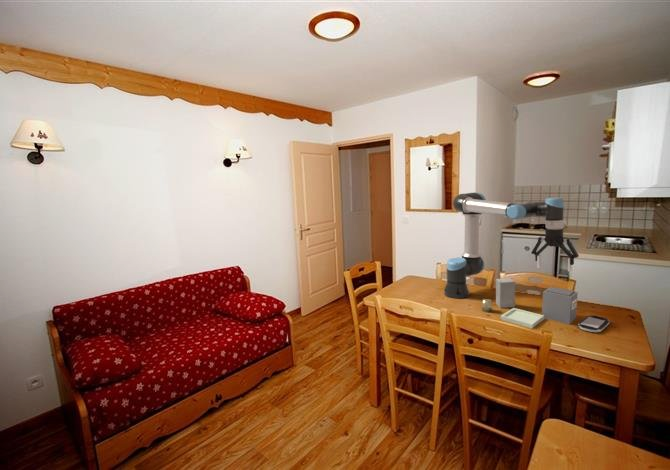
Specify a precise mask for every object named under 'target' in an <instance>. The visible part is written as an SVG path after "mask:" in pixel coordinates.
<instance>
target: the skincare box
mask: <svg viewBox="0 0 670 470" xmlns="http://www.w3.org/2000/svg"><path fill="white" fill-rule="evenodd" d="M515 297H516V281H515V280H513V279H512V278H510V277H509V278H508V277H507V278H496V279H495V305H497V306H498V307H499V308H500V309H504V308H515V307H516V306H515V305H516V304H515V303H516V299H515Z"/></svg>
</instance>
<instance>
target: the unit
mask: <svg viewBox="0 0 670 470" xmlns="http://www.w3.org/2000/svg"><path fill="white" fill-rule="evenodd" d="M541 305H542V306H541V307H542V308H541V309H542V310H541V311H542V312H541V315H544V319H546V320H551V321H555V322H558V323H563V324H566V325H570V324H572V322H574V321H575V320H576V319H577V310H578V291H575V290H571V289H567V288H560V287H556V286H550V287H548V288H546V289H545V290H544V291H542V304H541Z"/></svg>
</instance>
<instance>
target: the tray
mask: <svg viewBox="0 0 670 470" xmlns="http://www.w3.org/2000/svg"><path fill="white" fill-rule="evenodd" d="M500 320H501V321H504V322H508V323H512V324H515V325H518V326H521V327H522V326H523V327H526V328H530V329H533V328H534V327H536V326H537V325H539V324H540V323H541V322H542V321H543V320H545V318H544V315H542V314H539V313H536V312H531V311H527V310H524V309H519V308H515V307H511V309H510V310H507V311H506V312H504V313H503V314H501V315H500Z"/></svg>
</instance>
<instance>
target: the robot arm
mask: <svg viewBox="0 0 670 470" xmlns="http://www.w3.org/2000/svg"><path fill="white" fill-rule="evenodd" d="M486 199H487V198H486V197H485V196H484V195H483V194H482V193H481V192H467V193H460V194H458V195H456V196H455V197H454V199H453V201H452V206H453V209H454V210H455V211H456V212H459V213H461V214H462V215H463V216H464V250H463V251H464V252H463V253H462V254H461V257H459V256H457V257H451V258H449V259H448V260H447V261H446V284H445V286H444V290H443V292H444V293H443V294H444V296H446V297H448V298H453V299H465V298H468V297H469V296H470V291H469V288H468V285H467V277H470V276H476V275H478V274H480V273H482V272H484V271H483V270H484V269H485V267H486V266H485V260H484V259H483V257H482V255H481V253H480V252H479V249H480V248H479V242H480V216H481V215H482V214H483V215H484V214H485V215H491V216H500V217H505V218H509V219H511V220H522V219H526V218H533V217H545V230H544V231H545V232H544V233H545V235H544V236H545V237H543V236H539V237H538V238H537V242H536V243H535V245H534V247H533V249H532V251H531V254H532V255H534V257H535V262H536V263H537V264H536V265H537V267H536V268H538V269H539V268H541V267H542V254H541V253H542V252H544V250H545V249H547V247H555V248H557V247H558V248H559V249H561V251H563V252H564V253H565V254H566V256H568V258H567V272H572V266H573V265H574V263H575V259H577V258H578V257H580V256H579V254H578V251H577V250H576V248H575V246H574V245H573V243H572V238H571V237H569V238H565V237H564V207H565V205H564V199H563V198H562V197H548V198H545V201H540V202H539V201H528V202H526V201H525V202H523V203H514V202H513V203H512V202H504V201H503V202H502V201H495V200H486ZM542 242H545V244H543V245H542V246H541V244H542ZM564 242H565V243H566V245H567V246H568V248H569V249H568V248H567V247H566V246H565V244H564ZM540 246H541V248H540V249H539V247H540ZM538 249H539V250H538Z"/></svg>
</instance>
